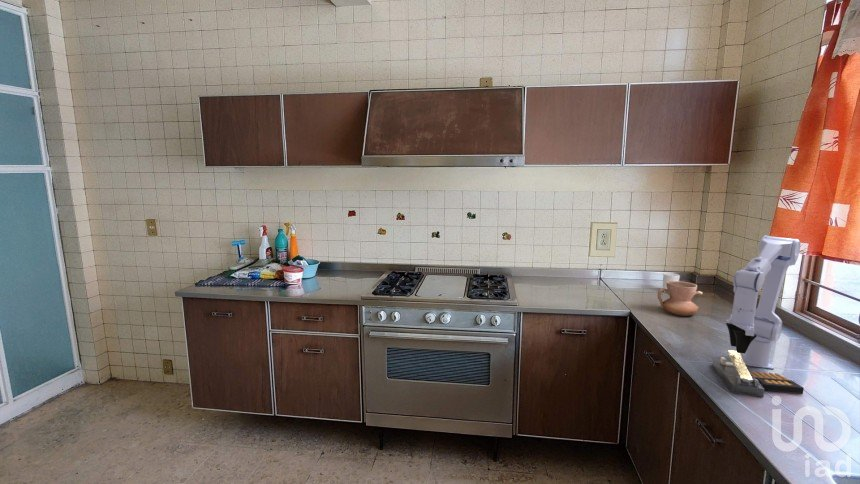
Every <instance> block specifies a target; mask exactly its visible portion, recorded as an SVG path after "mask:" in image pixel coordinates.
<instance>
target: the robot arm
mask: <svg viewBox="0 0 860 484" xmlns="http://www.w3.org/2000/svg"><path fill="white" fill-rule="evenodd" d="M758 250H759V252H760V253H759V254H758V256H755V257H752V258H751V259H750V260H749V262H747V264H746V265H745V266H744V268H743V269H740V270H736V271H735V274H734V275H733V281H732V282H733V283H732V284H733V293H734V296H733V304H732V311H731V313H730V314H729V319H726V321H725V322H726V323H725V325H726V327H727V330H728V335H729V341H730V346H731V347H734V348H736V349H735V351H737V353H740V355H741V357H742V359H743V361H744V363H745V365H746V366H748V367H757V368H762V369H771V370H774V369H775V367H774V366H773V365H772V364H771V363H770V361H771V360H770V359H771V353H772V348H773V342H774V343H775V342H777V341H778V340H779V339H780V336H781V334H782V327H783V320H782V319H781V318H780V317H779V315H777V313H775V310H776V308H777V304H778V301H779V298H780V294H781V290H782V286H783V284H784V280H785V276H786V273H787V271H788V270H789V269H788V268H789V267H790V266H791V267H792V266H794V265H796V264H797V261H798V258H799V254H800V251H801V241H800V239H798V238H787V237H779V236H771V235H764V236H762V237H761V239H760V241H759V245H758ZM761 289H762V290H761ZM759 291H761V293H760V296H759ZM758 296H759V300H758ZM757 302H758V304H757Z"/></svg>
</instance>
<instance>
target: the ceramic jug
mask: <svg viewBox="0 0 860 484" xmlns="http://www.w3.org/2000/svg"><path fill="white" fill-rule="evenodd" d="M697 289H698V285H697V284H696V283H693V282H689V281H681V280H679V281H667V289H665V288H663V287H662V288H659V290H657V299H658V301H659V302H660V307H661V308H662V309H663V310H664V311H666V312H667V313H669V314H672V315H676V316H679V317H680V316H681V317H682V316H683V317H685V316H687V317H690V316H693V315H695V314H697V312H698V310H699V308H700V307H699V306H697V304H696V303H694V302H693V301H692V299H693V298H694V296H695V295H700V296H702V295H703V291H700V290H697ZM663 291H664V292H663ZM665 292H666V293H665ZM662 293H665V294H667V295H668V296H669V298H667V299H665V300H664V301H663V299H662V295H661V294H662Z"/></svg>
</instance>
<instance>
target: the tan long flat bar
mask: <svg viewBox="0 0 860 484" xmlns="http://www.w3.org/2000/svg"><path fill="white" fill-rule="evenodd" d="M727 354H728V356H729V360H731V361H732V363H733V365H734V367H735V369H736V372H737V374H738V376H739V377H740V378H741V382H744V383H750V384H753V379H752V377H751V375H750V373H751V372H750V370H749V369H748V367H747V365H746V364H745V363H744V361H743V359H742V357H741V355H740V353H737V351H736V350H733V349H727ZM749 372H750V373H749Z"/></svg>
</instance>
